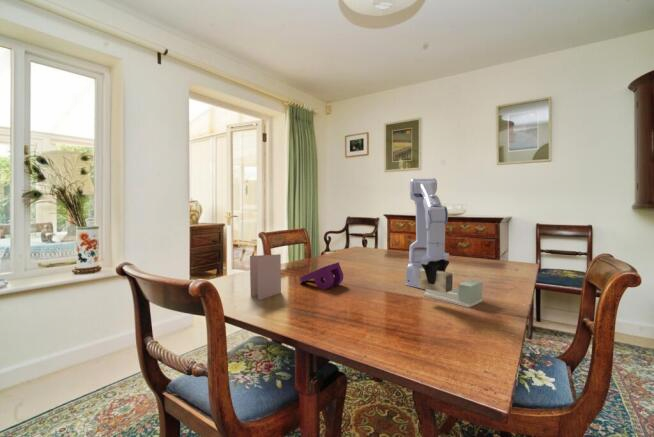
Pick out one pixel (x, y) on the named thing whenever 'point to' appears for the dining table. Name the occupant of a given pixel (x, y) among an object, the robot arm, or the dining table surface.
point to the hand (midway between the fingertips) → (435, 282)
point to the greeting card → (265, 275)
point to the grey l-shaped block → (460, 294)
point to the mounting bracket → (325, 276)
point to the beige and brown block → (437, 281)
